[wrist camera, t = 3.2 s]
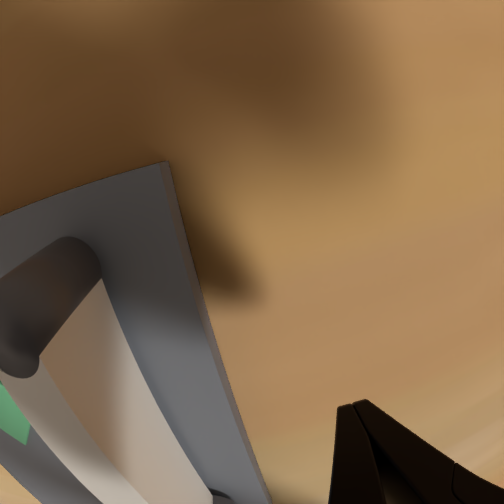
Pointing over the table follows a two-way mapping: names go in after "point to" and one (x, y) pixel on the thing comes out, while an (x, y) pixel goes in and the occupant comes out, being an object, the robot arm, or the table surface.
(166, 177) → the plate
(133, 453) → the light grey rounded bar
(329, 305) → the table surface
